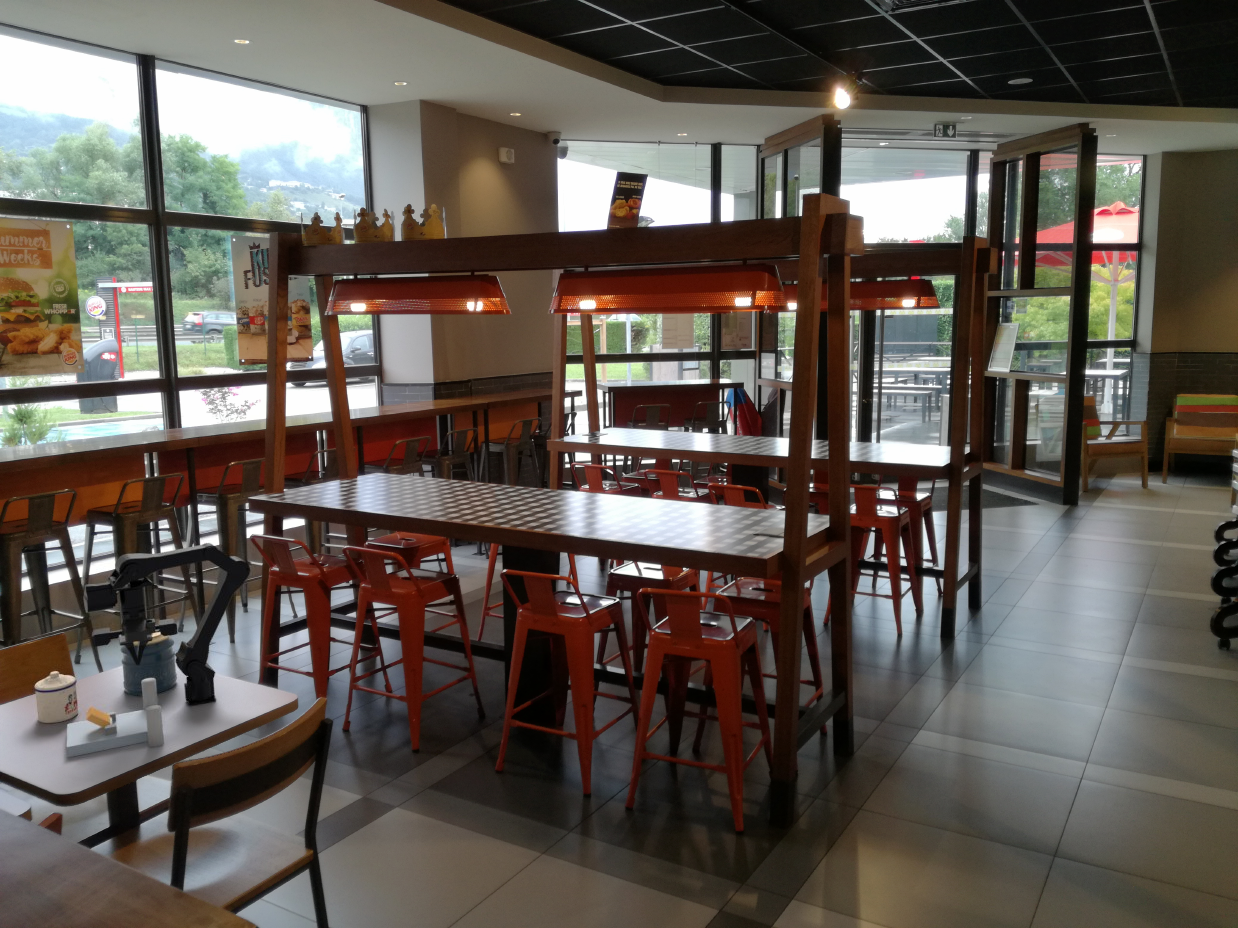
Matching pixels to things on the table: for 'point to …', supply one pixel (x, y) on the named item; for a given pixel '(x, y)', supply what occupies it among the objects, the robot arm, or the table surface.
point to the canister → (150, 665)
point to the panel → (97, 737)
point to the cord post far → (149, 692)
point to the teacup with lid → (56, 698)
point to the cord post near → (154, 726)
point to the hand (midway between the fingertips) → (137, 664)
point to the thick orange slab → (98, 717)
